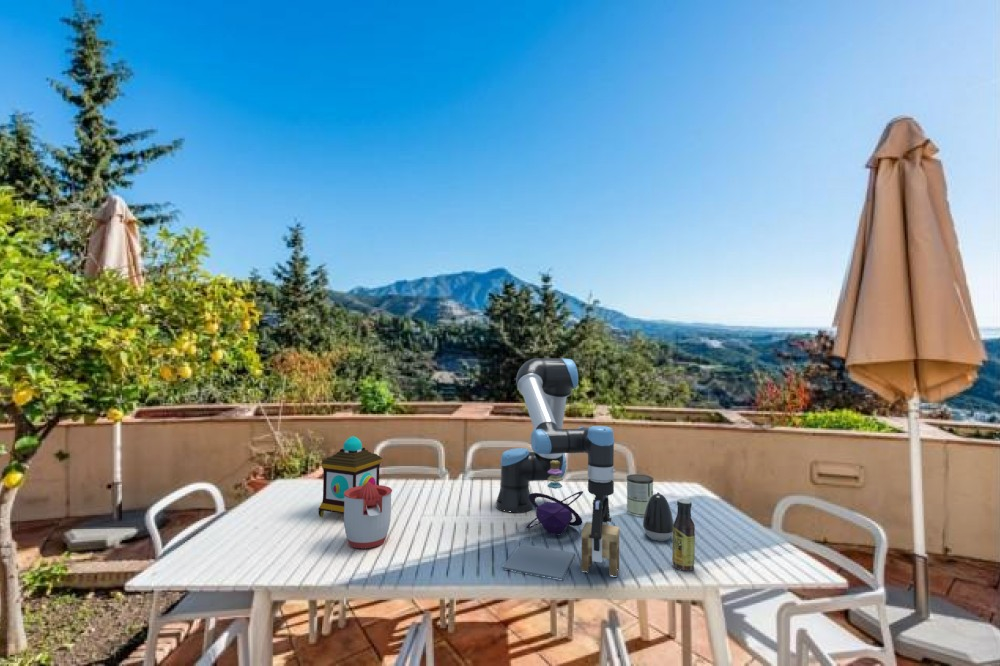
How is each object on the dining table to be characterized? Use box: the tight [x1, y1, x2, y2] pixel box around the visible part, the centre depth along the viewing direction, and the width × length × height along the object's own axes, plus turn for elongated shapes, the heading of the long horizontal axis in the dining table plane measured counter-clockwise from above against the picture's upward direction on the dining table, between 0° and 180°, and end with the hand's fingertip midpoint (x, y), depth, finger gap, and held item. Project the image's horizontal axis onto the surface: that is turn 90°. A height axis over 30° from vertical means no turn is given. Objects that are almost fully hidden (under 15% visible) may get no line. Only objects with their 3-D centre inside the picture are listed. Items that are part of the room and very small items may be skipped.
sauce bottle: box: [671, 498, 696, 571], centre depth 142 cm, size 6×6×20 cm
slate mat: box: [501, 543, 576, 580], centre depth 144 cm, size 18×18×1 cm
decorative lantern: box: [318, 436, 383, 518], centre depth 186 cm, size 20×20×30 cm
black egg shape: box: [642, 491, 674, 542], centre depth 164 cm, size 10×10×15 cm
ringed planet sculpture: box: [524, 460, 584, 535], centre depth 170 cm, size 22×21×25 cm
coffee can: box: [626, 473, 654, 518], centre depth 191 cm, size 10×10×14 cm
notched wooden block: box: [581, 521, 620, 577], centre depth 140 cm, size 10×7×12 cm
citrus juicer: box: [343, 482, 393, 549], centre depth 157 cm, size 16×17×20 cm
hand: (600, 552), depth 140 cm, fingers open, 13 cm apart
